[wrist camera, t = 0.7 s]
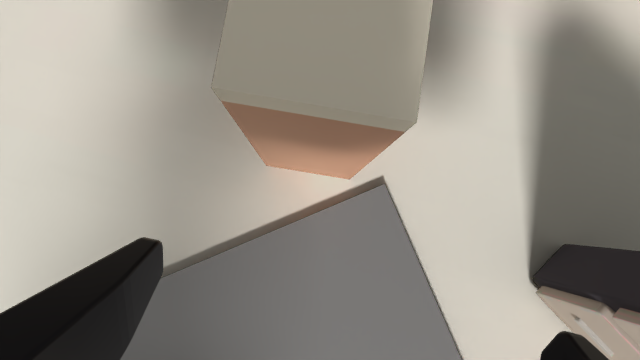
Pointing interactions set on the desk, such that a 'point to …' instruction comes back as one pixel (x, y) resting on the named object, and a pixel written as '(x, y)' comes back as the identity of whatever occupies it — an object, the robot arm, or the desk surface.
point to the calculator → (596, 296)
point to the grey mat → (303, 295)
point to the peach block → (322, 78)
